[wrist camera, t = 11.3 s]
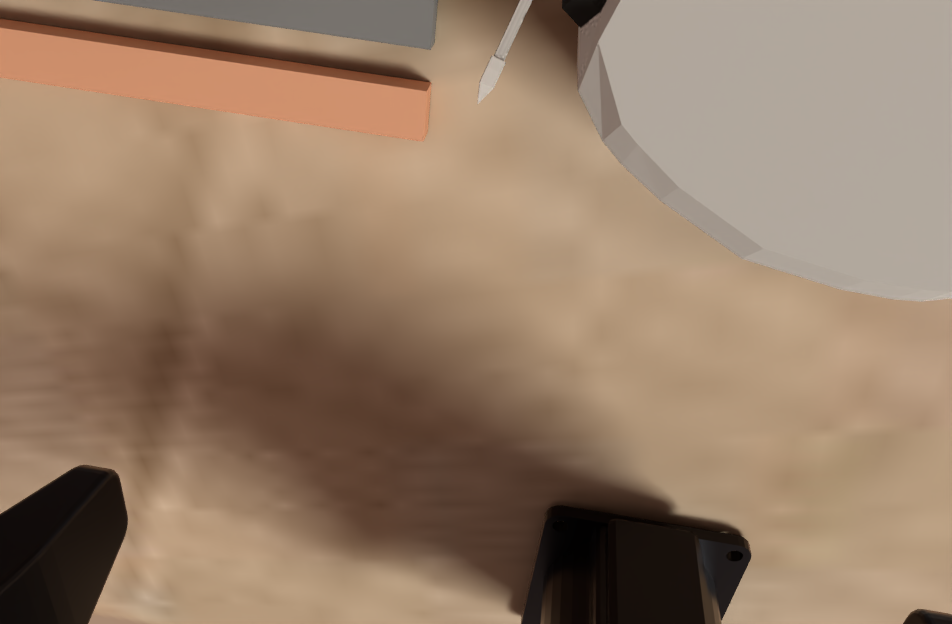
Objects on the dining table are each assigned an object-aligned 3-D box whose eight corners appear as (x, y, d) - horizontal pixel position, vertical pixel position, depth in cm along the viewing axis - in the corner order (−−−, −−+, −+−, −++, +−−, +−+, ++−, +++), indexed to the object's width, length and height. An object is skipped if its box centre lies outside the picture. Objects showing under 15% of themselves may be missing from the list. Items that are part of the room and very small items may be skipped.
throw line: (427, 132, 19) (422, 141, 19) (-365, 12, 20) (-389, 18, 19) (431, 82, 18) (426, 91, 18) (-390, -40, 19) (-416, -35, 19)
